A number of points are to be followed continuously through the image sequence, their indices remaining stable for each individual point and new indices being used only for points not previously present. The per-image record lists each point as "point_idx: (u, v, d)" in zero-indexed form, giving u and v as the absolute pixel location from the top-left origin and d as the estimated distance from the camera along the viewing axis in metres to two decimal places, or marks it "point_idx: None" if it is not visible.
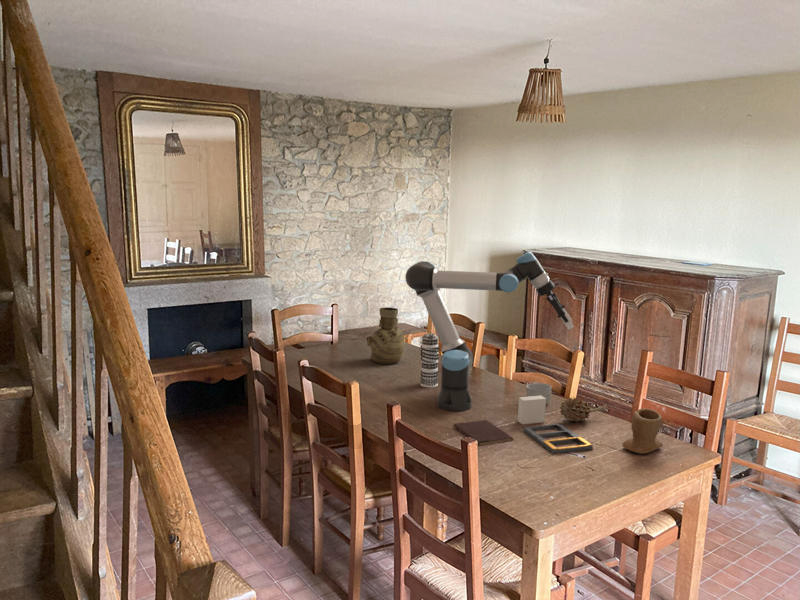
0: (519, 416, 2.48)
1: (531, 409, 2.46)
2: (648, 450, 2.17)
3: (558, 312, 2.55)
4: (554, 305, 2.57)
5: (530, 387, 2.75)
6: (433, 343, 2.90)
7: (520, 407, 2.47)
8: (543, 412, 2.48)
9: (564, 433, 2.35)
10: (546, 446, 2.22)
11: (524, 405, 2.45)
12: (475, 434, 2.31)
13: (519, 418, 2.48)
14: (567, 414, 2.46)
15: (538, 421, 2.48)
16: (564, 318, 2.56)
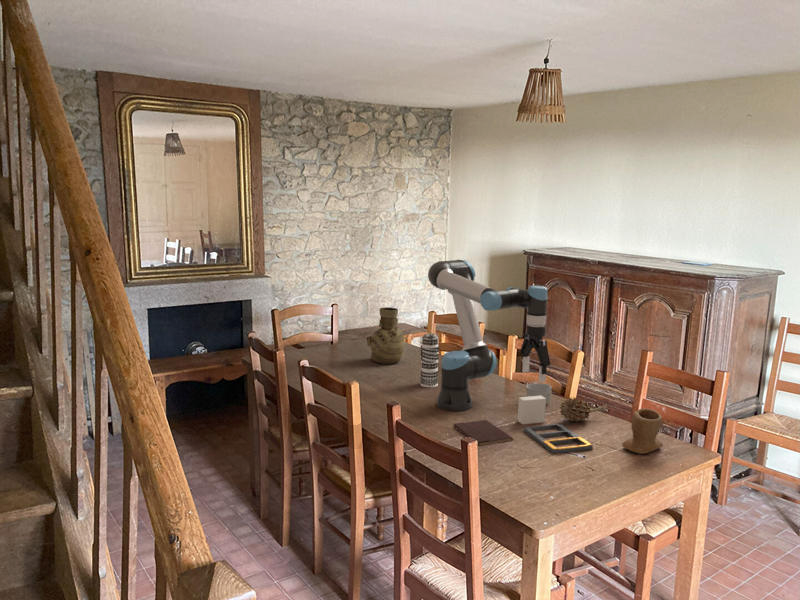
0: (519, 416, 2.48)
1: (531, 409, 2.46)
2: (648, 450, 2.17)
3: (545, 361, 2.36)
4: (544, 352, 2.37)
5: (530, 387, 2.75)
6: (433, 343, 2.90)
7: (520, 407, 2.47)
8: (543, 412, 2.48)
9: (564, 433, 2.35)
10: (546, 446, 2.22)
11: (524, 405, 2.45)
12: (475, 434, 2.31)
13: (519, 418, 2.48)
14: (567, 414, 2.46)
15: (538, 421, 2.48)
16: (544, 369, 2.38)
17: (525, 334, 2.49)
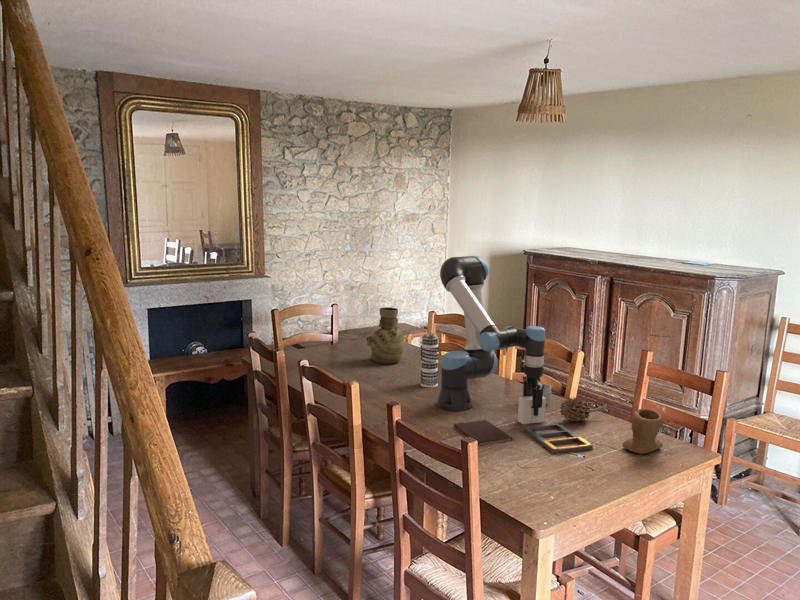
0: (519, 416, 2.48)
1: None
2: (648, 450, 2.17)
3: (537, 404, 2.42)
4: (538, 396, 2.42)
5: None
6: (433, 343, 2.90)
7: (520, 407, 2.47)
8: (543, 412, 2.48)
9: (564, 433, 2.35)
10: (546, 446, 2.22)
11: (524, 405, 2.45)
12: (475, 434, 2.31)
13: (519, 418, 2.48)
14: (567, 414, 2.46)
15: (538, 421, 2.48)
16: (536, 411, 2.45)
17: (523, 377, 2.52)
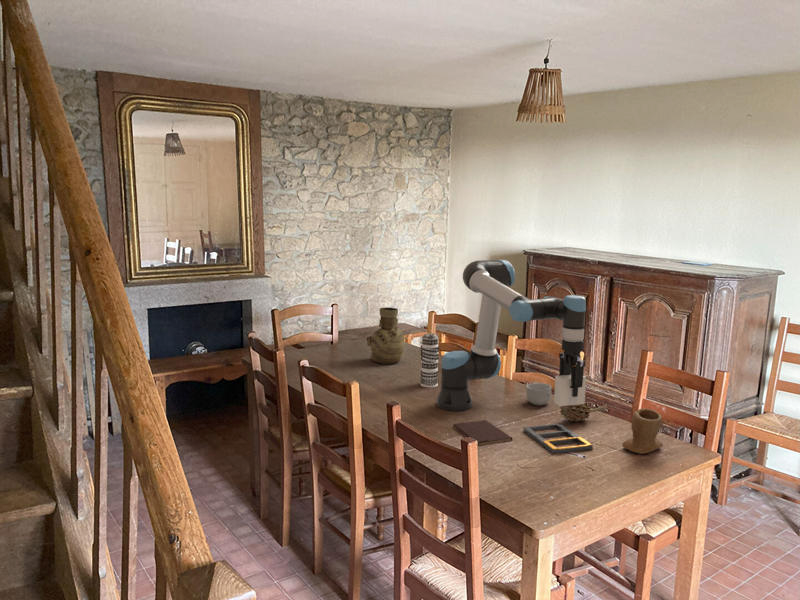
0: (556, 397, 2.20)
1: None
2: (648, 450, 2.17)
3: (577, 383, 2.14)
4: (579, 374, 2.14)
5: (530, 387, 2.75)
6: (433, 343, 2.90)
7: (557, 386, 2.19)
8: (583, 392, 2.20)
9: (564, 433, 2.35)
10: (546, 446, 2.22)
11: (562, 384, 2.17)
12: (474, 434, 2.31)
13: (556, 399, 2.20)
14: (567, 414, 2.46)
15: (577, 403, 2.20)
16: (575, 391, 2.17)
17: (559, 353, 2.24)
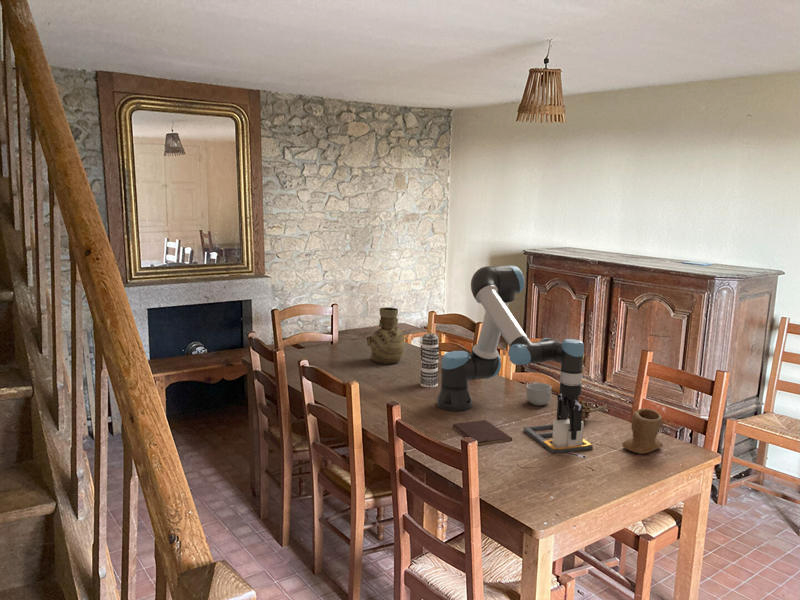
0: (554, 442, 2.23)
1: (567, 435, 2.20)
2: (648, 450, 2.17)
3: (576, 427, 2.16)
4: (577, 418, 2.15)
5: (530, 387, 2.75)
6: (433, 343, 2.90)
7: (555, 431, 2.21)
8: (580, 437, 2.22)
9: None
10: (546, 446, 2.22)
11: (560, 430, 2.19)
12: (474, 434, 2.31)
13: (554, 444, 2.23)
14: None
15: None
16: (574, 434, 2.18)
17: (558, 395, 2.26)
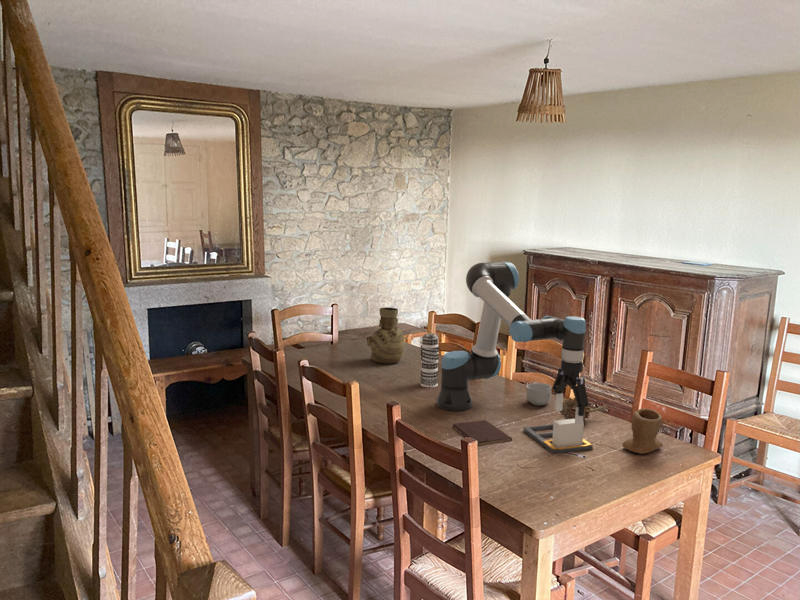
0: (554, 442, 2.23)
1: (567, 435, 2.20)
2: (648, 450, 2.17)
3: (583, 402, 2.11)
4: (582, 392, 2.12)
5: (530, 387, 2.75)
6: (433, 343, 2.90)
7: (555, 431, 2.21)
8: (580, 437, 2.22)
9: None
10: (546, 446, 2.22)
11: (560, 430, 2.19)
12: (474, 434, 2.31)
13: (554, 444, 2.23)
14: (567, 414, 2.46)
15: None
16: (582, 410, 2.13)
17: (559, 369, 2.25)
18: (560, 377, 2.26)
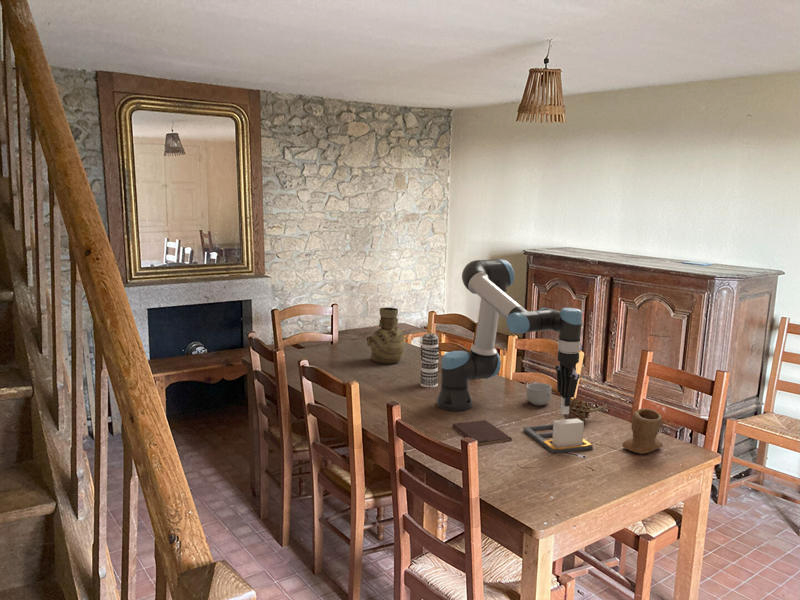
0: (554, 442, 2.23)
1: (567, 435, 2.20)
2: (648, 450, 2.17)
3: (570, 394, 2.19)
4: (572, 386, 2.18)
5: (530, 387, 2.75)
6: (433, 343, 2.90)
7: (555, 431, 2.21)
8: (580, 437, 2.22)
9: None
10: (546, 446, 2.22)
11: (560, 430, 2.19)
12: (474, 434, 2.31)
13: (554, 444, 2.23)
14: (567, 414, 2.46)
15: None
16: (568, 401, 2.22)
17: (556, 366, 2.27)
18: (560, 374, 2.26)
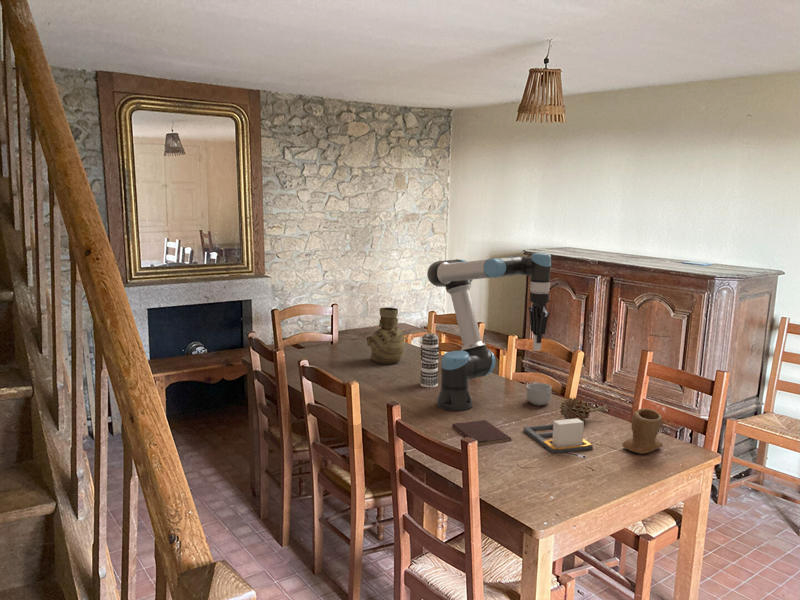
0: (554, 442, 2.23)
1: (567, 435, 2.20)
2: (648, 450, 2.17)
3: (541, 331, 2.41)
4: (543, 323, 2.39)
5: (530, 387, 2.75)
6: (433, 343, 2.90)
7: (555, 431, 2.21)
8: (580, 437, 2.22)
9: None
10: (546, 446, 2.22)
11: (560, 430, 2.19)
12: (473, 434, 2.31)
13: (554, 444, 2.23)
14: (567, 414, 2.46)
15: None
16: (539, 338, 2.43)
17: (529, 307, 2.49)
18: None
